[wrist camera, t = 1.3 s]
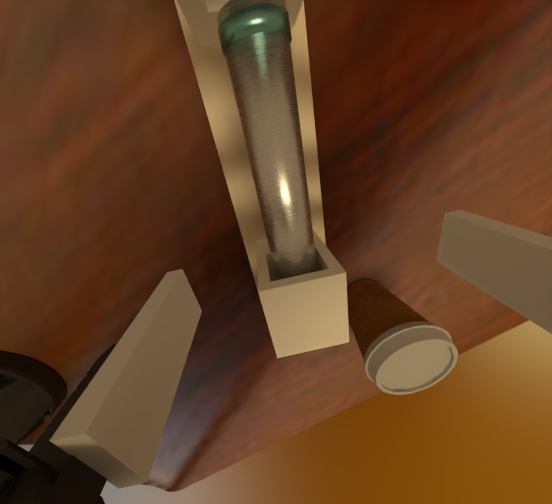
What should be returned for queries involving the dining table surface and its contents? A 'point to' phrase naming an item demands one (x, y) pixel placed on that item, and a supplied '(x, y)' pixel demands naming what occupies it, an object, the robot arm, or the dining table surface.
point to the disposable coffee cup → (397, 340)
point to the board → (230, 134)
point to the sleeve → (304, 303)
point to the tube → (270, 126)
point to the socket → (203, 17)
